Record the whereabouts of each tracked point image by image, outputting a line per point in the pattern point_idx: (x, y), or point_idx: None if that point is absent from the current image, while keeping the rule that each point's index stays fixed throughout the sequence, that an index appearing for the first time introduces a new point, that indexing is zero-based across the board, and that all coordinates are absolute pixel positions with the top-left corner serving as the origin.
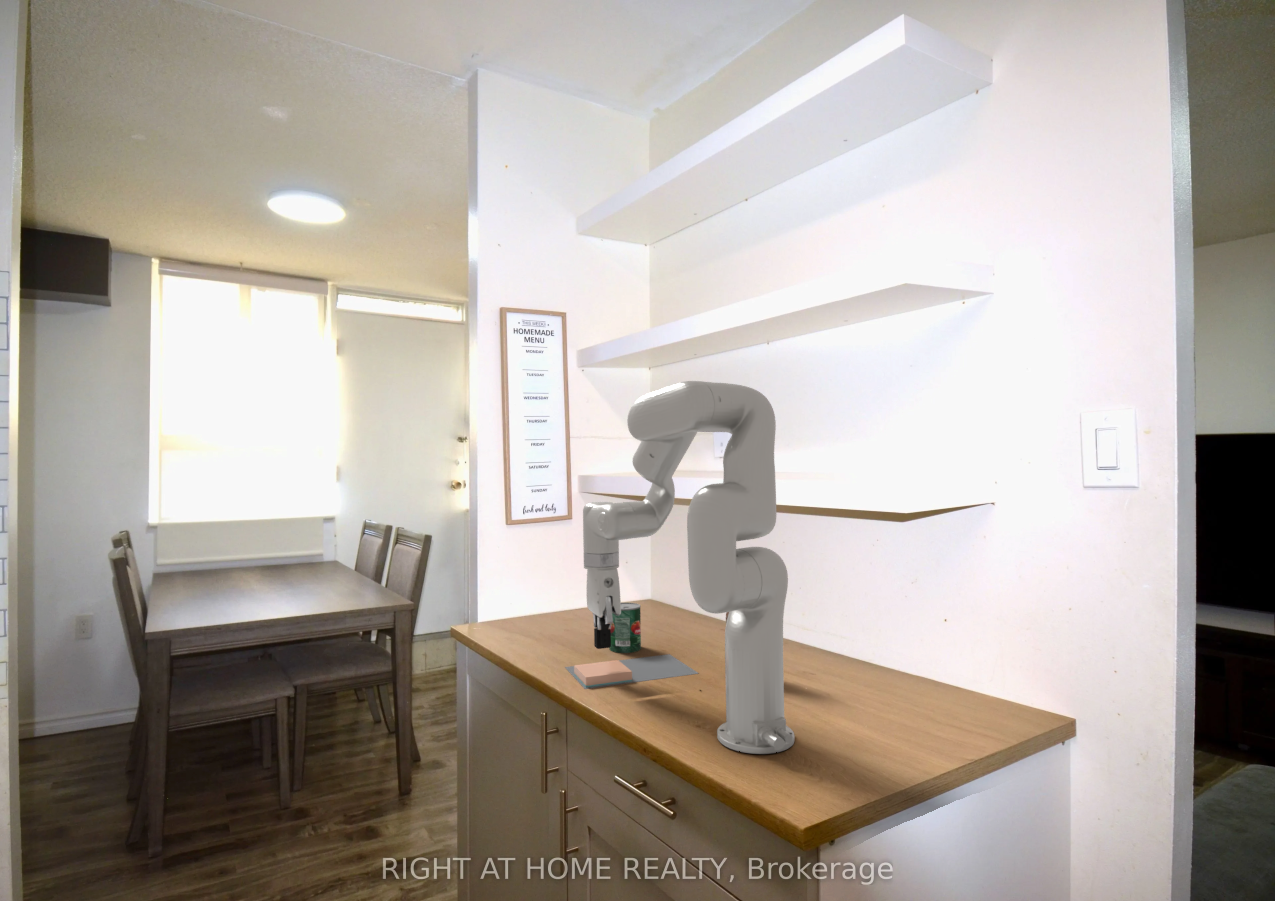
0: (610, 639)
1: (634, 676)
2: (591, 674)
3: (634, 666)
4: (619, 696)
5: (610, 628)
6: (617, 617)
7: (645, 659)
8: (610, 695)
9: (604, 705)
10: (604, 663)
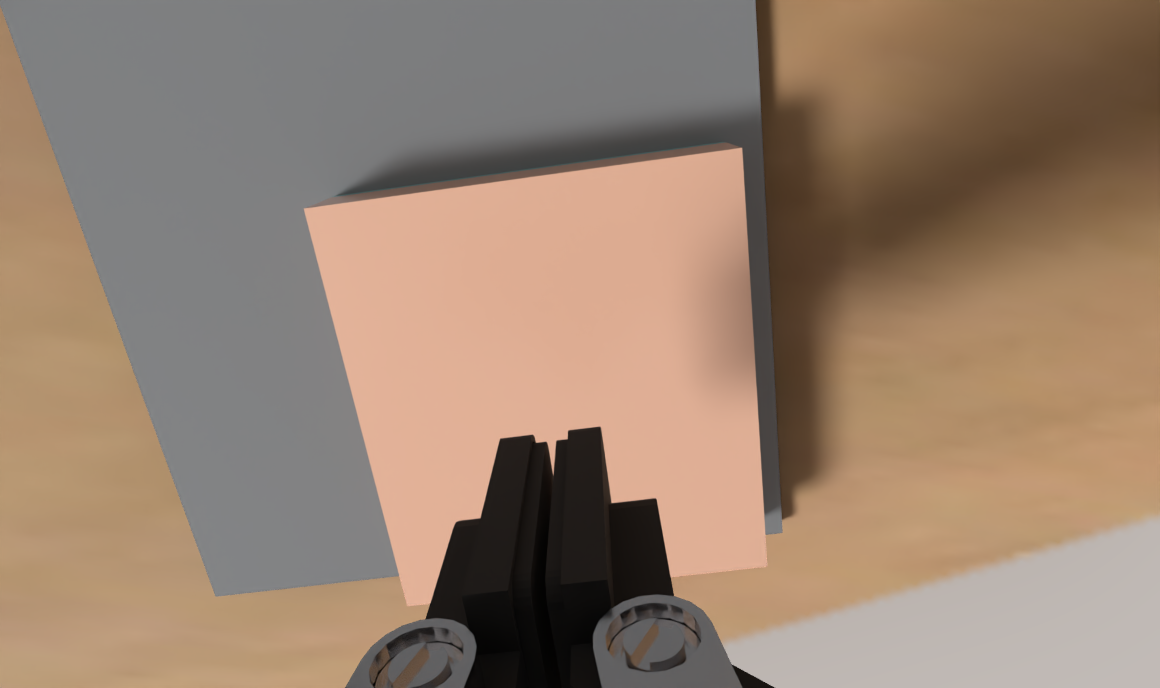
0: (599, 475)
1: (598, 87)
2: (703, 514)
3: (275, 11)
4: (988, 309)
5: (695, 610)
6: None
7: None
8: (936, 368)
9: (1117, 443)
10: (406, 360)
